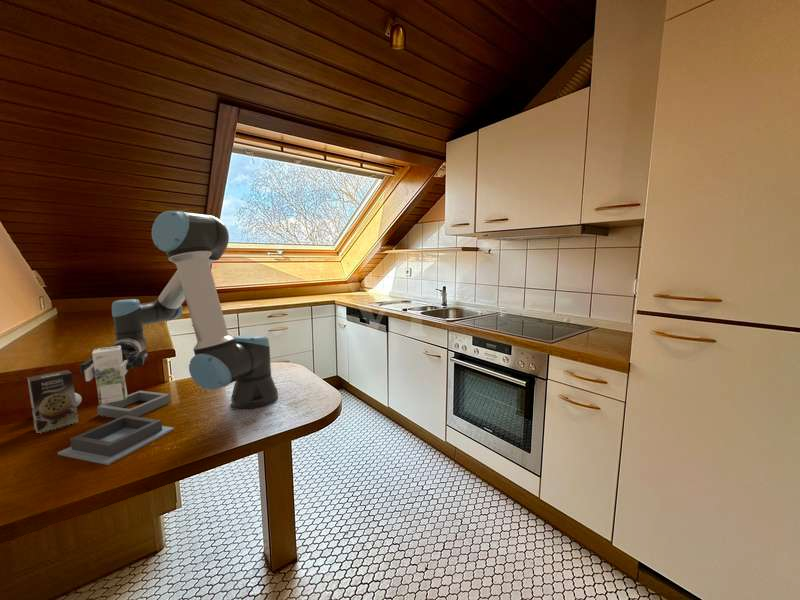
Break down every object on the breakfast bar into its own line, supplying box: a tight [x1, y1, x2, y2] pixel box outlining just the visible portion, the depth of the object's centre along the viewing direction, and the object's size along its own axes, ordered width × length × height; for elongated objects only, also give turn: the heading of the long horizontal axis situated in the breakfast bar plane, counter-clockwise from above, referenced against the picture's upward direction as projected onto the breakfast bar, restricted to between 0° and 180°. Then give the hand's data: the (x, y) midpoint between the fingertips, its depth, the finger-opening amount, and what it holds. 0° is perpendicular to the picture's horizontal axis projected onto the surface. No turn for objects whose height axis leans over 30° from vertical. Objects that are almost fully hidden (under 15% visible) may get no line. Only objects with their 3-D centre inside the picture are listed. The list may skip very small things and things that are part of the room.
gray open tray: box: [96, 390, 172, 419], centre depth 117 cm, size 14×14×3 cm
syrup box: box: [91, 345, 128, 406], centre depth 94 cm, size 6×6×14 cm
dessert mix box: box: [27, 369, 80, 434], centre depth 105 cm, size 9×6×16 cm
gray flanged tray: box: [57, 415, 175, 466], centre depth 96 cm, size 18×18×4 cm
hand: (104, 373), depth 89 cm, fingers closed on syrup box, 6 cm apart
